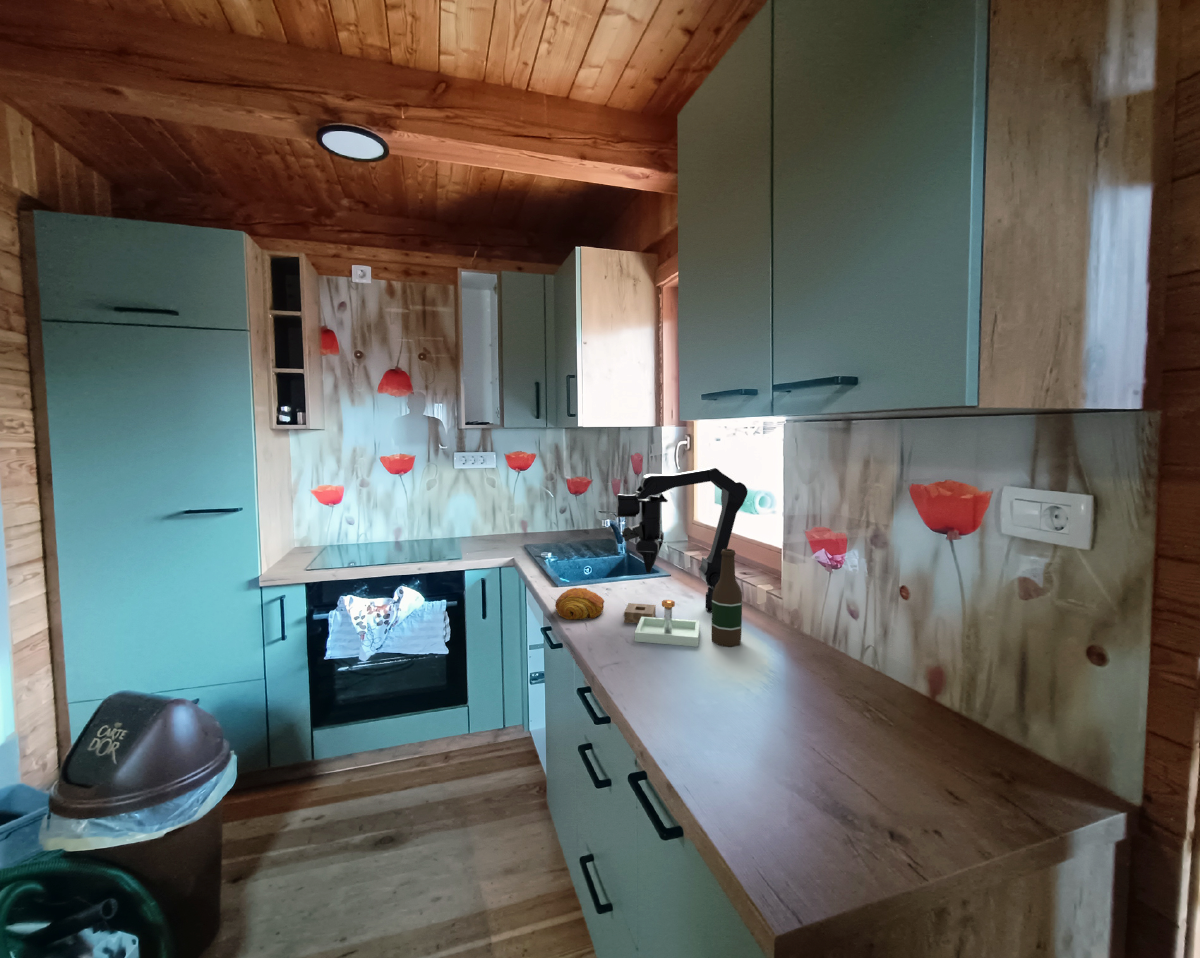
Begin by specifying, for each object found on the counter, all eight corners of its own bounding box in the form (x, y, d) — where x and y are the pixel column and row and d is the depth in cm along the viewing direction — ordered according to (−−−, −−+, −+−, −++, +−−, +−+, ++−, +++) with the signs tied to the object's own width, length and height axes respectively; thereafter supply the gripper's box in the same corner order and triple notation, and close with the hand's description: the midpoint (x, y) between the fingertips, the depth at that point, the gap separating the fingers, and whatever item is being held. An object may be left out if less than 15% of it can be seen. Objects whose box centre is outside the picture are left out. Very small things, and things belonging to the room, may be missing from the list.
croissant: (549, 626, 155) (547, 600, 153) (566, 602, 170) (564, 578, 168) (597, 629, 152) (596, 603, 150) (610, 604, 166) (609, 580, 164)
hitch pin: (674, 631, 143) (675, 600, 143) (673, 635, 140) (674, 604, 139) (662, 630, 144) (662, 599, 143) (660, 634, 141) (661, 603, 140)
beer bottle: (705, 641, 138) (706, 549, 136) (720, 633, 144) (722, 545, 141) (732, 650, 133) (734, 554, 130) (747, 641, 138) (749, 549, 136)
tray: (699, 629, 146) (699, 620, 146) (697, 646, 135) (698, 637, 134) (641, 624, 150) (641, 616, 150) (634, 641, 138) (634, 632, 138)
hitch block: (655, 614, 158) (655, 604, 158) (652, 624, 150) (652, 614, 150) (628, 612, 160) (628, 603, 159) (624, 622, 152) (624, 611, 152)
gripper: (628, 511, 169) (628, 559, 171) (618, 521, 151) (618, 575, 153) (664, 512, 167) (663, 561, 168) (657, 522, 149) (657, 577, 150)
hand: (650, 568), depth 160 cm, fingers open, 9 cm apart
